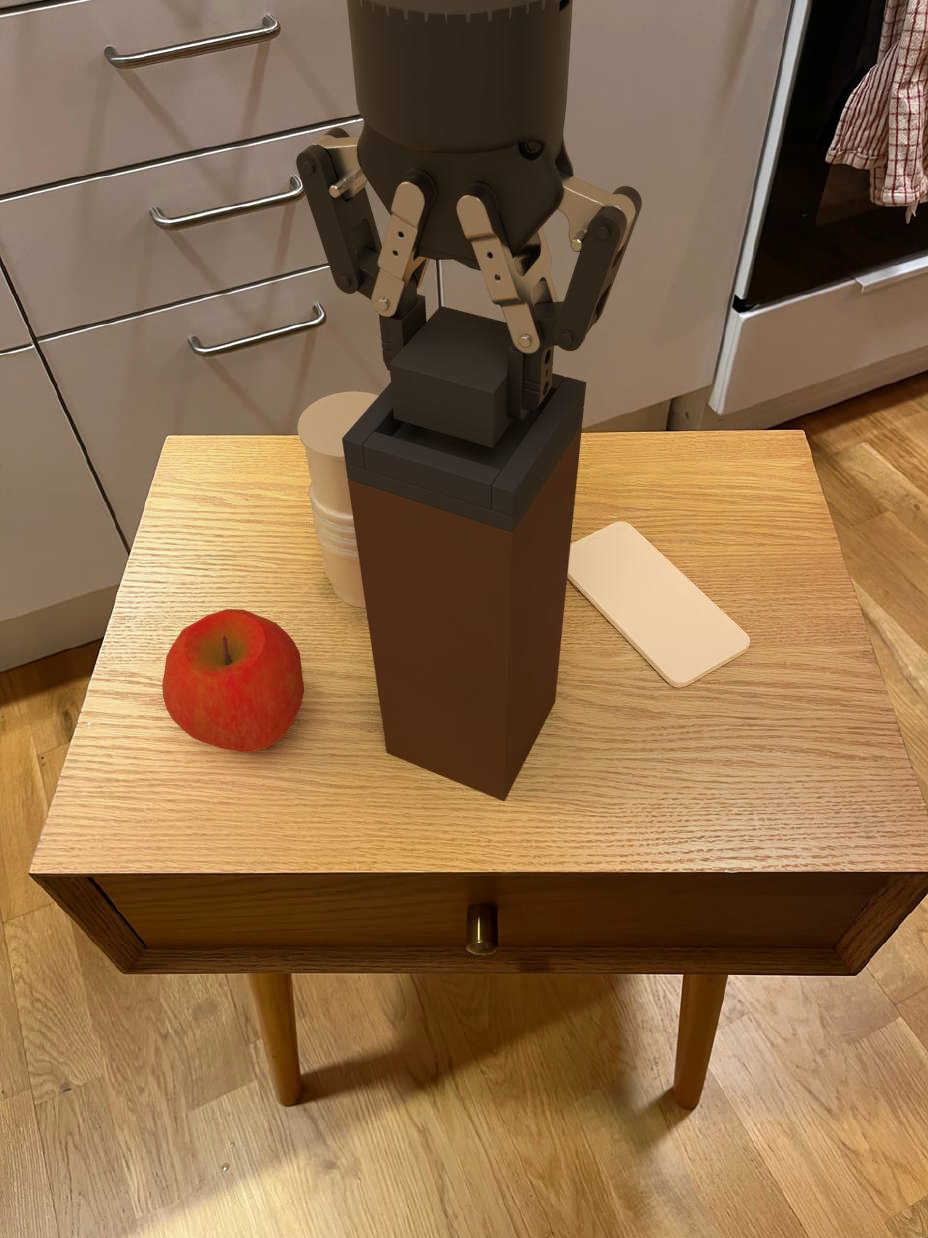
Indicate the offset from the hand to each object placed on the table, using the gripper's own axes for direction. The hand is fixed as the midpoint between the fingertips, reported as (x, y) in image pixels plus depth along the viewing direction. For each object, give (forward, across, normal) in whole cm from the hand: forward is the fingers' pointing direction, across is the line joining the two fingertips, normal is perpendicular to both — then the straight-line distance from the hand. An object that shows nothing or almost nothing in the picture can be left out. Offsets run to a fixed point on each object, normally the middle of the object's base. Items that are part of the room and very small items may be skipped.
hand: (466, 391), depth 44 cm
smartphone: (+28, +7, +16) cm, 32 cm away
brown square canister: (+28, 0, 0) cm, 28 cm away
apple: (+28, -13, -7) cm, 31 cm away
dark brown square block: (+1, 0, 0) cm, 1 cm away
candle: (+28, -13, +9) cm, 32 cm away
